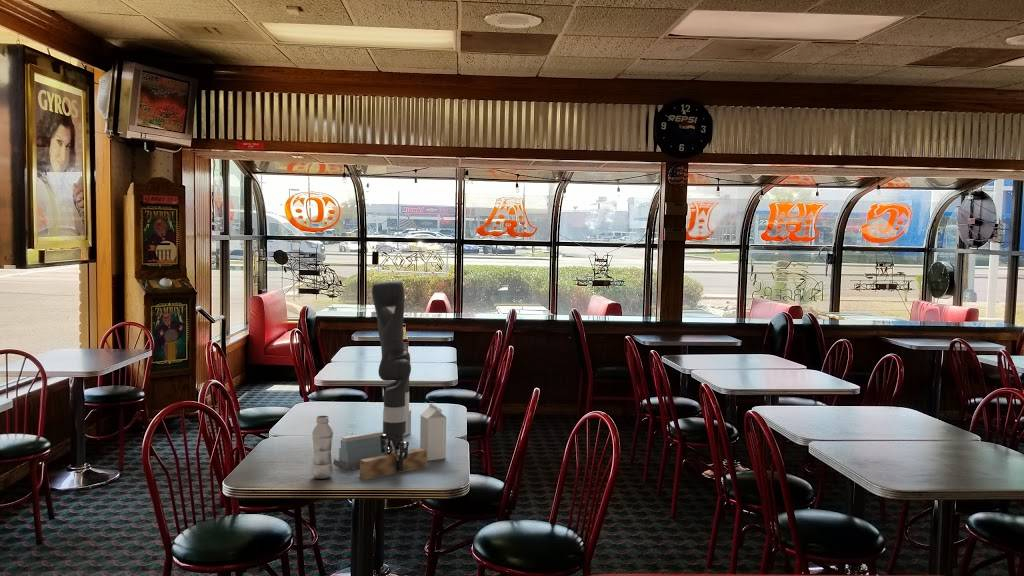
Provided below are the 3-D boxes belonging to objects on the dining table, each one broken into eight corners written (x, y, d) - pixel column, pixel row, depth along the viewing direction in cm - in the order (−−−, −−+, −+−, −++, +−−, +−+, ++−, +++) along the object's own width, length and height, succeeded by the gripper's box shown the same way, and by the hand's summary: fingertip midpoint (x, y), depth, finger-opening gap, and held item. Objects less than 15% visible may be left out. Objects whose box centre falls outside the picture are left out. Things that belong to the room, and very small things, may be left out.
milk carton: (427, 461, 273) (427, 407, 272) (419, 456, 279) (420, 403, 278) (446, 459, 276) (446, 405, 275) (438, 454, 283) (439, 402, 281)
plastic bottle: (313, 475, 255) (313, 414, 254) (334, 474, 255) (334, 414, 254) (309, 481, 248) (309, 419, 247) (331, 481, 249) (331, 419, 248)
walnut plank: (421, 465, 269) (421, 447, 269) (426, 467, 267) (426, 449, 267) (359, 477, 254) (359, 459, 253) (364, 480, 251) (364, 461, 251)
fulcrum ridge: (388, 452, 283) (388, 426, 283) (403, 458, 276) (404, 431, 275) (333, 463, 269) (333, 435, 268) (348, 469, 261) (348, 441, 261)
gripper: (416, 421, 256) (415, 472, 257) (392, 413, 267) (391, 462, 268) (396, 424, 251) (396, 476, 252) (373, 416, 262) (372, 466, 263)
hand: (393, 468), depth 260 cm, fingers open, 6 cm apart
